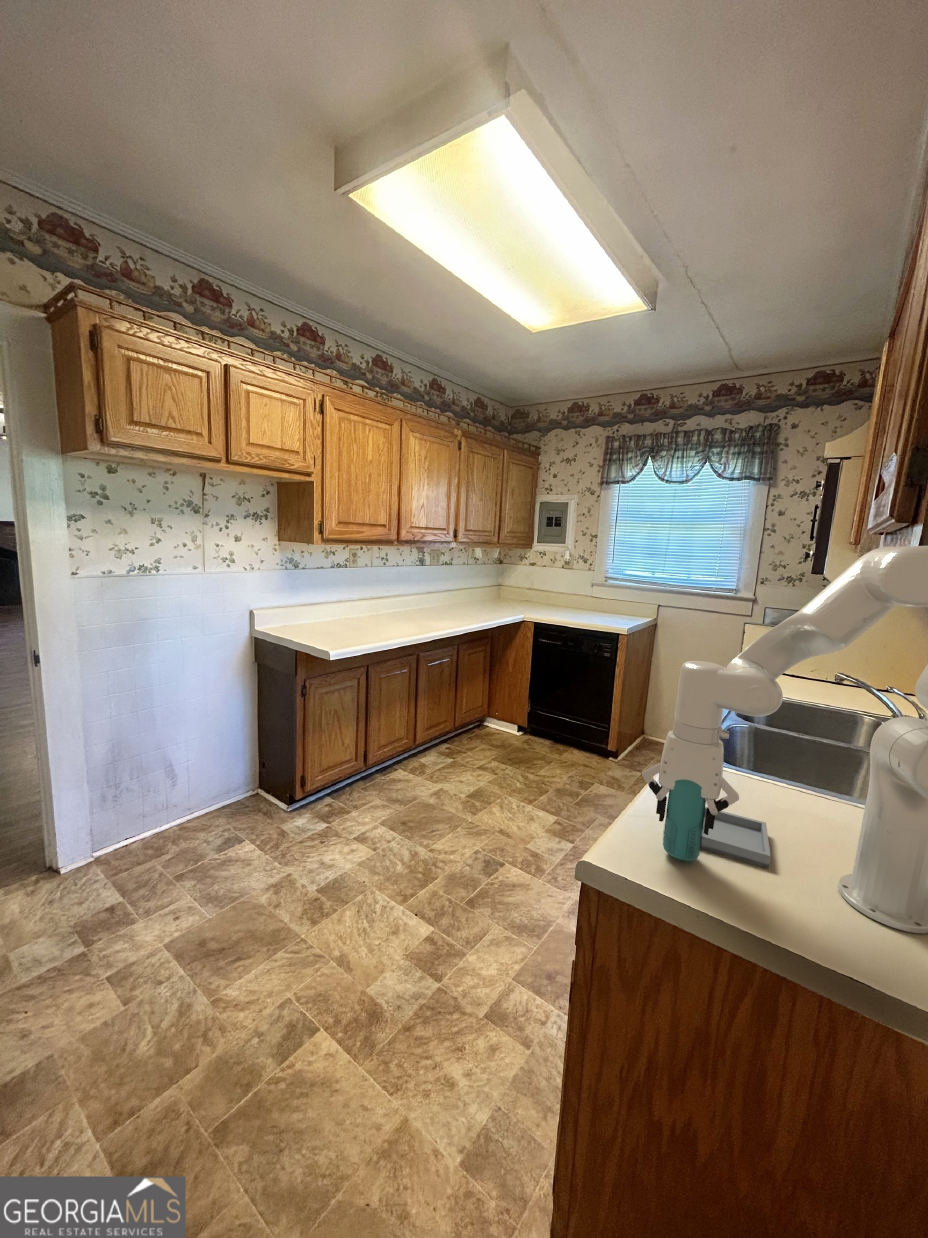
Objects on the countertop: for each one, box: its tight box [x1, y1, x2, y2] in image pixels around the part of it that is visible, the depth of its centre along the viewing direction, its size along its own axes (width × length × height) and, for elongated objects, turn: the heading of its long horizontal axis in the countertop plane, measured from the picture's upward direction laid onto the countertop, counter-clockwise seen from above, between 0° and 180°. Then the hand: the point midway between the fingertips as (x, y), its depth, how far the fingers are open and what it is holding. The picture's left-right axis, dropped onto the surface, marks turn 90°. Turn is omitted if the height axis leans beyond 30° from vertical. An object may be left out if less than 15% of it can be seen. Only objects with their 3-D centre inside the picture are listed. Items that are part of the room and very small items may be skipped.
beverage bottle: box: [661, 779, 707, 862], centre depth 90 cm, size 6×7×20 cm
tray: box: [700, 806, 772, 870], centre depth 98 cm, size 13×13×2 cm
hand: (683, 823), depth 91 cm, fingers open, 6 cm apart
